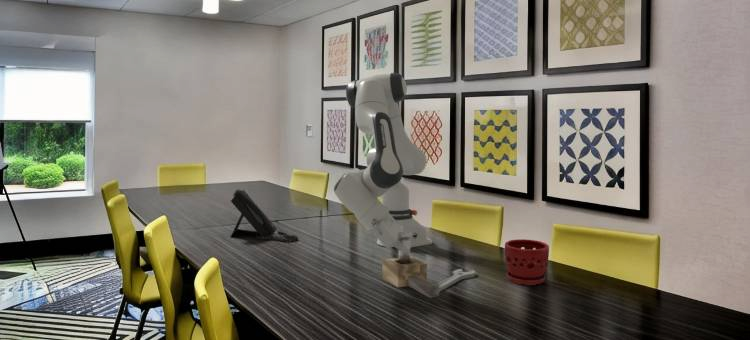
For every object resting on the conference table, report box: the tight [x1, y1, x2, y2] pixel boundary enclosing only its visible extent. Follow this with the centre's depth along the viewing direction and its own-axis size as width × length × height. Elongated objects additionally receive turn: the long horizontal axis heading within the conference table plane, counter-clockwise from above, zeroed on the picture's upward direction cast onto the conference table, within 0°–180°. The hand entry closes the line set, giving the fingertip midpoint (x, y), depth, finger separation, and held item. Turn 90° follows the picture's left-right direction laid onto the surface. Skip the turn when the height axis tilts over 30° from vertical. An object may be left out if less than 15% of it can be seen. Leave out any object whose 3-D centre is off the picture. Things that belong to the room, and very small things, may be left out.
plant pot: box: [504, 239, 550, 286], centre depth 166 cm, size 13×13×12 cm
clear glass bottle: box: [397, 232, 412, 265], centre depth 165 cm, size 4×4×10 cm
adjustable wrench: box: [435, 268, 476, 293], centre depth 165 cm, size 25×6×2 cm, turn 141°
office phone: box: [230, 189, 299, 243], centre depth 229 cm, size 29×28×20 cm
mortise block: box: [381, 256, 440, 299], centre depth 160 cm, size 10×22×6 cm, turn 27°
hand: (406, 250), depth 165 cm, fingers closed on clear glass bottle, 4 cm apart
